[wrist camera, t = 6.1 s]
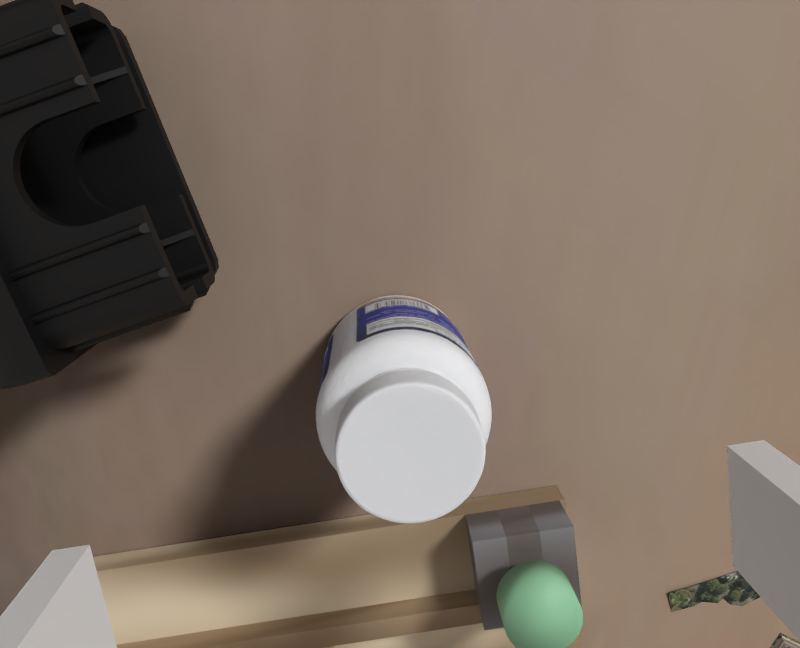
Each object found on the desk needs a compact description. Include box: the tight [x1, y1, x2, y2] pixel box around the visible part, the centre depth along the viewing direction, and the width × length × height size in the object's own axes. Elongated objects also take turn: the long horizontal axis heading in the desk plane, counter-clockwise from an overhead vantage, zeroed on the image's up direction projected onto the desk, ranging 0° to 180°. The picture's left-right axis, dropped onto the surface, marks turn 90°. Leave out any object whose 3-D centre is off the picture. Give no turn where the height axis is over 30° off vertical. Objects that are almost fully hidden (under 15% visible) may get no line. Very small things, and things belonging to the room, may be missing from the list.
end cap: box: [0, 0, 219, 389], centre depth 23 cm, size 10×7×7 cm
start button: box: [496, 560, 583, 648], centre depth 26 cm, size 3×3×4 cm
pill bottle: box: [316, 295, 492, 523], centre depth 24 cm, size 5×5×9 cm
